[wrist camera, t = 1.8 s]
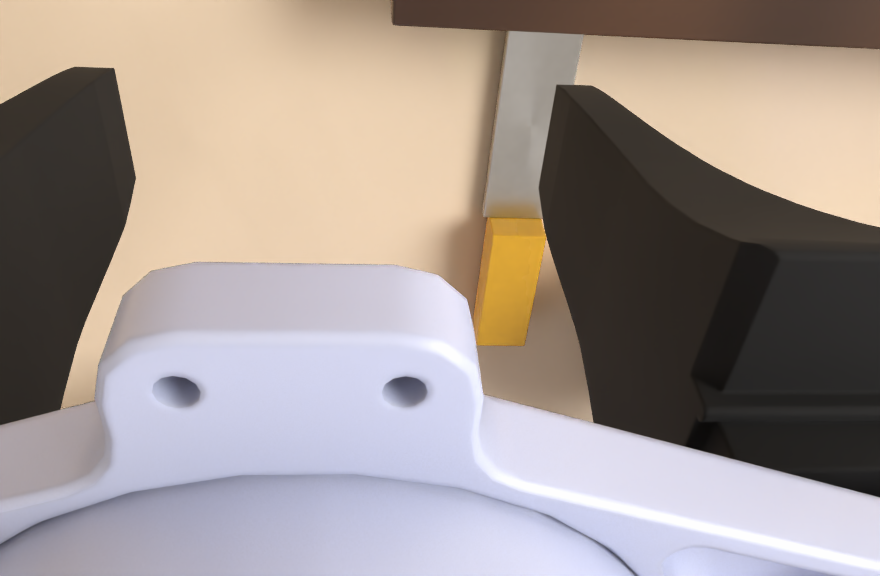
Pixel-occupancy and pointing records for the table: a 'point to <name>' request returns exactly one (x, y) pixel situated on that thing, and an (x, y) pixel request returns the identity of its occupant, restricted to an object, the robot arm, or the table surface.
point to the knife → (518, 182)
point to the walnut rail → (661, 19)
